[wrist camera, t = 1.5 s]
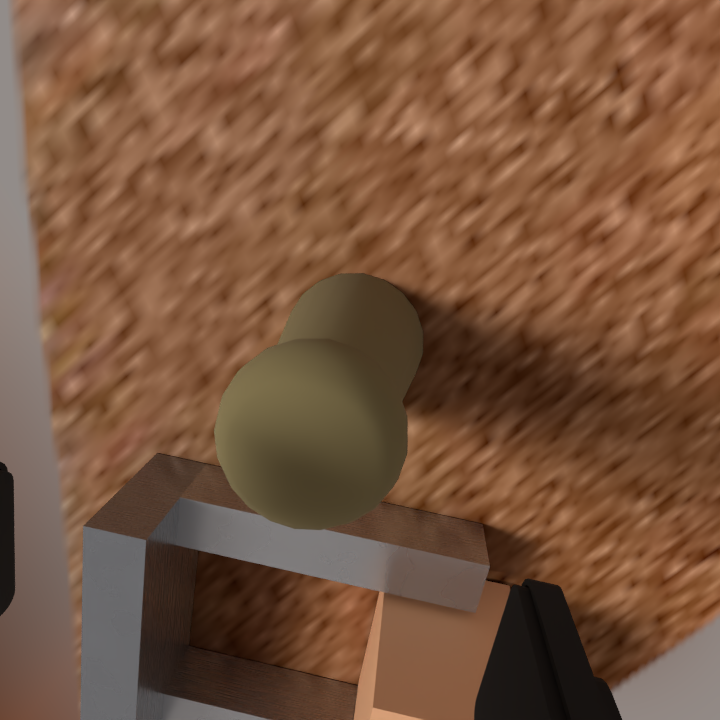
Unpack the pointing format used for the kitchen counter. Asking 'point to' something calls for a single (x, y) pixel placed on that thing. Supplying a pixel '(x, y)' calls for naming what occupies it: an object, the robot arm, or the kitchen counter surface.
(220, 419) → the cork
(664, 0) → the kitchen counter surface
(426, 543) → the u-shaped metal bracket
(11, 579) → the robot arm
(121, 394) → the kitchen counter surface
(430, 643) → the block
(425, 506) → the kitchen counter surface
